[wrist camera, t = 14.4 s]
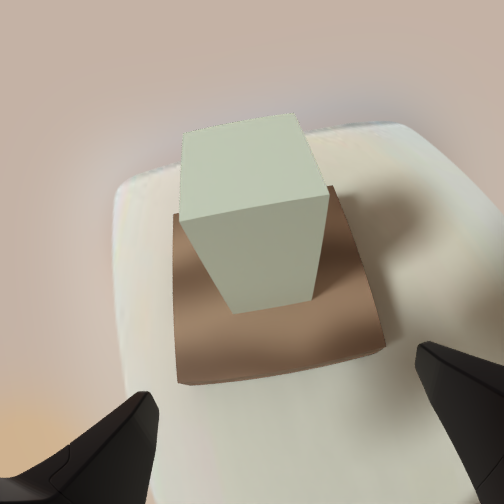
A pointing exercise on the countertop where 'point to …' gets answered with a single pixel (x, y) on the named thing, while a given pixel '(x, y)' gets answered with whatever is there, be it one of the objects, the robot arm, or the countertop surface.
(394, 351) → the countertop surface
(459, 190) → the countertop surface
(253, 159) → the sage block
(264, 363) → the walnut stand
